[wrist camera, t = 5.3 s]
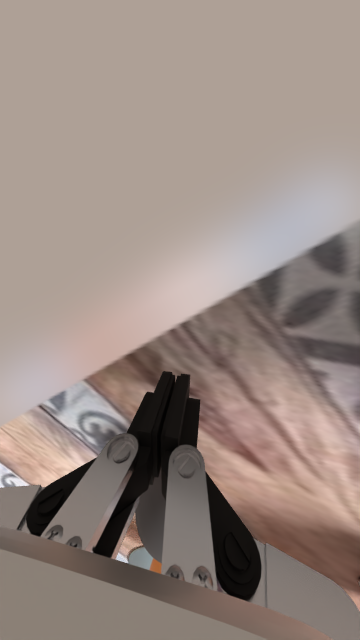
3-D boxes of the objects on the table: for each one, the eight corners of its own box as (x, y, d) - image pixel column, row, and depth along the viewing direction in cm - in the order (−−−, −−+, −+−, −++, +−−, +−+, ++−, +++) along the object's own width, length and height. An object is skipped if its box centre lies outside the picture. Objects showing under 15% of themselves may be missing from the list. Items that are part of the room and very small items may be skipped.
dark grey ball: (149, 431, 15) (115, 524, 10) (215, 442, 14) (217, 552, 9) (151, 473, 17) (125, 569, 11) (210, 485, 16) (210, 596, 11)
